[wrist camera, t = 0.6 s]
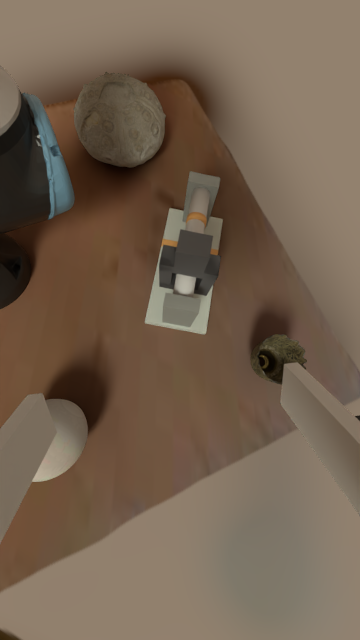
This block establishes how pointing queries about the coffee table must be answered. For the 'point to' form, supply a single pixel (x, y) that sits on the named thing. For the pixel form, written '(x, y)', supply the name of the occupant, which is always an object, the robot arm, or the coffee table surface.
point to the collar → (190, 262)
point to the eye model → (63, 439)
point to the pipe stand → (182, 303)
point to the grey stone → (119, 120)
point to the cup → (276, 357)
